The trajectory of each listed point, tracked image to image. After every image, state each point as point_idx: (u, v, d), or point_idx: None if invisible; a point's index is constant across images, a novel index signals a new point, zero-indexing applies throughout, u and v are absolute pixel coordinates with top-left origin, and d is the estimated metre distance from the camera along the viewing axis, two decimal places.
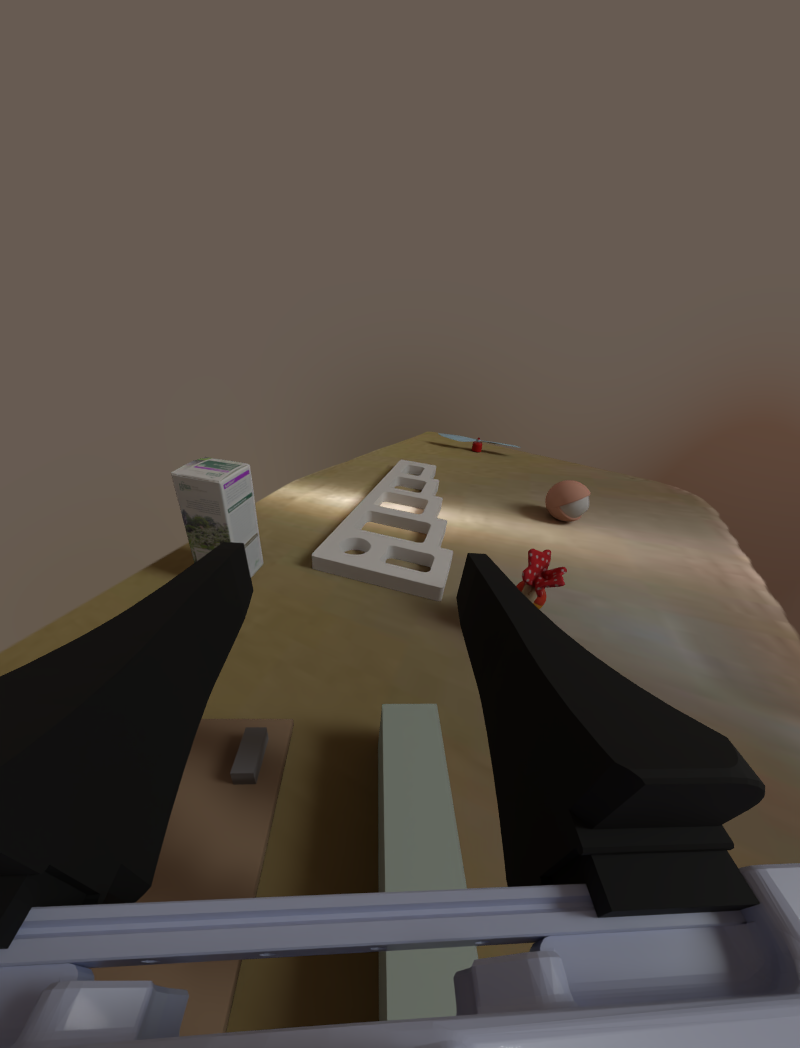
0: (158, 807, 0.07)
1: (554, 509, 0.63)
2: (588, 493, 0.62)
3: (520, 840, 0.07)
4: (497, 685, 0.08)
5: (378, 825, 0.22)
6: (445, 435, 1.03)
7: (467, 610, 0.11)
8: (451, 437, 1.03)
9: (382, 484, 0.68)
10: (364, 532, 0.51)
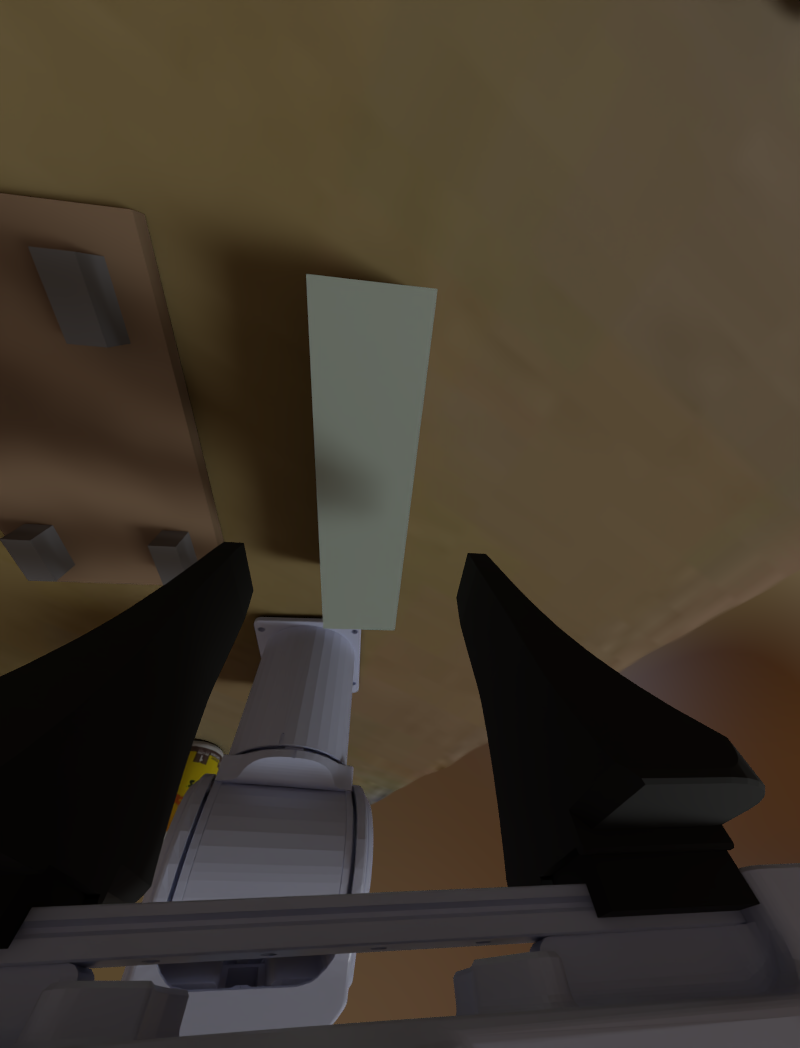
0: (158, 807, 0.07)
1: None
2: None
3: (520, 840, 0.07)
4: (497, 685, 0.08)
5: None
6: None
7: (467, 610, 0.11)
8: None
9: None
10: None
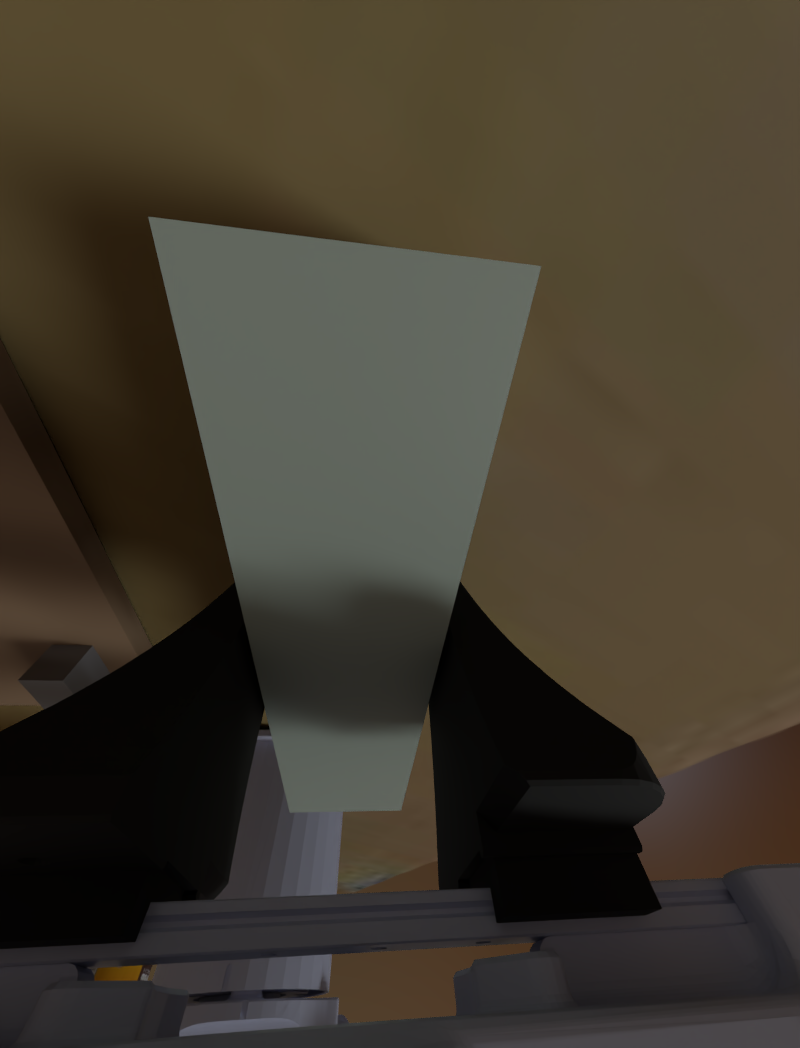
0: (234, 806, 0.07)
1: None
2: None
3: (447, 842, 0.07)
4: (438, 684, 0.08)
5: None
6: None
7: None
8: None
9: None
10: None
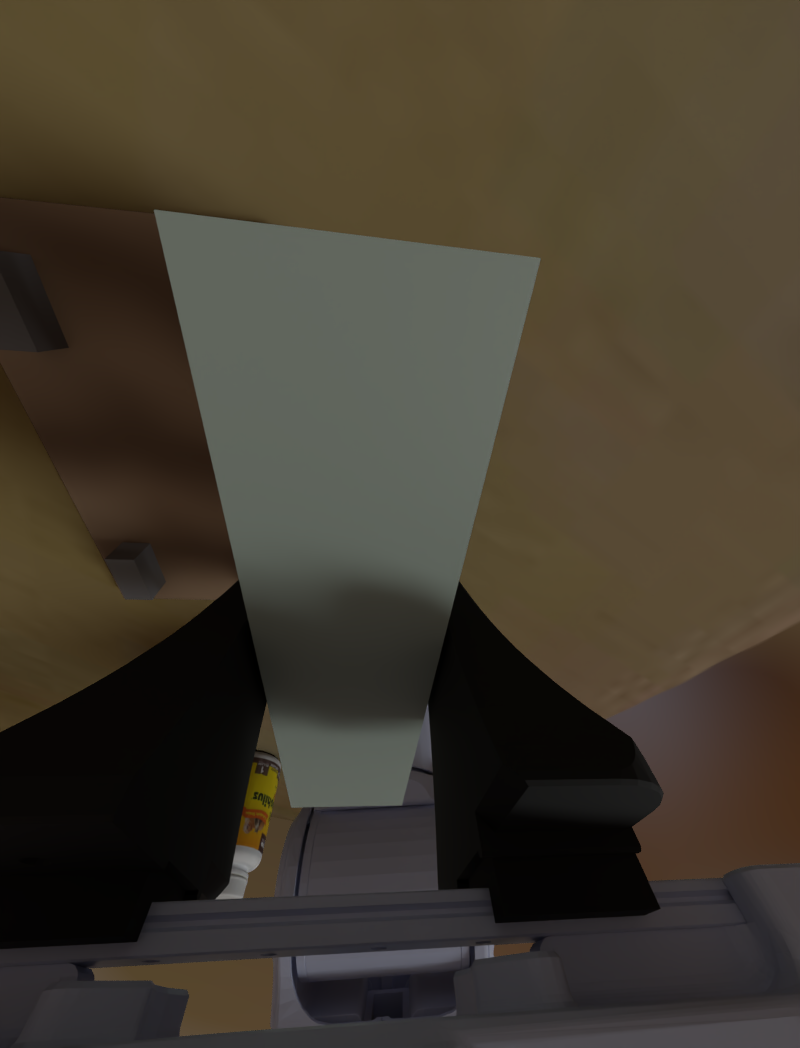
0: (235, 806, 0.07)
1: None
2: None
3: (446, 842, 0.07)
4: (437, 684, 0.08)
5: None
6: None
7: None
8: None
9: None
10: None
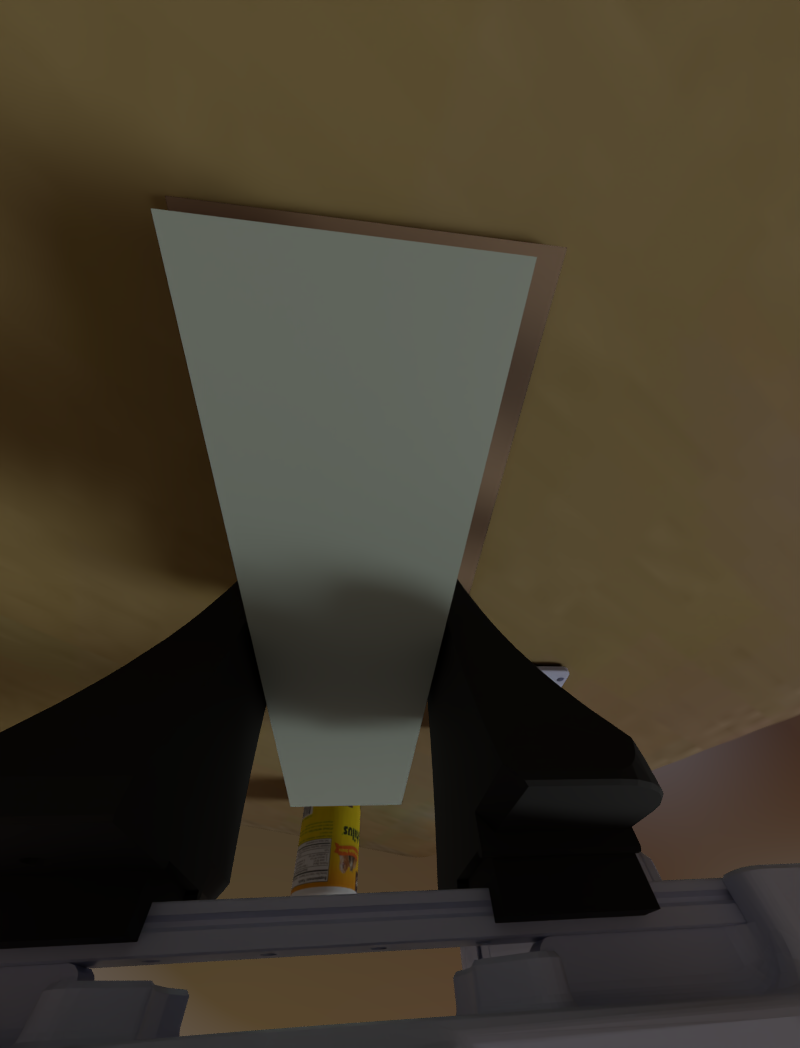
0: (235, 806, 0.07)
1: None
2: None
3: (446, 842, 0.07)
4: (437, 684, 0.08)
5: None
6: None
7: None
8: None
9: None
10: None
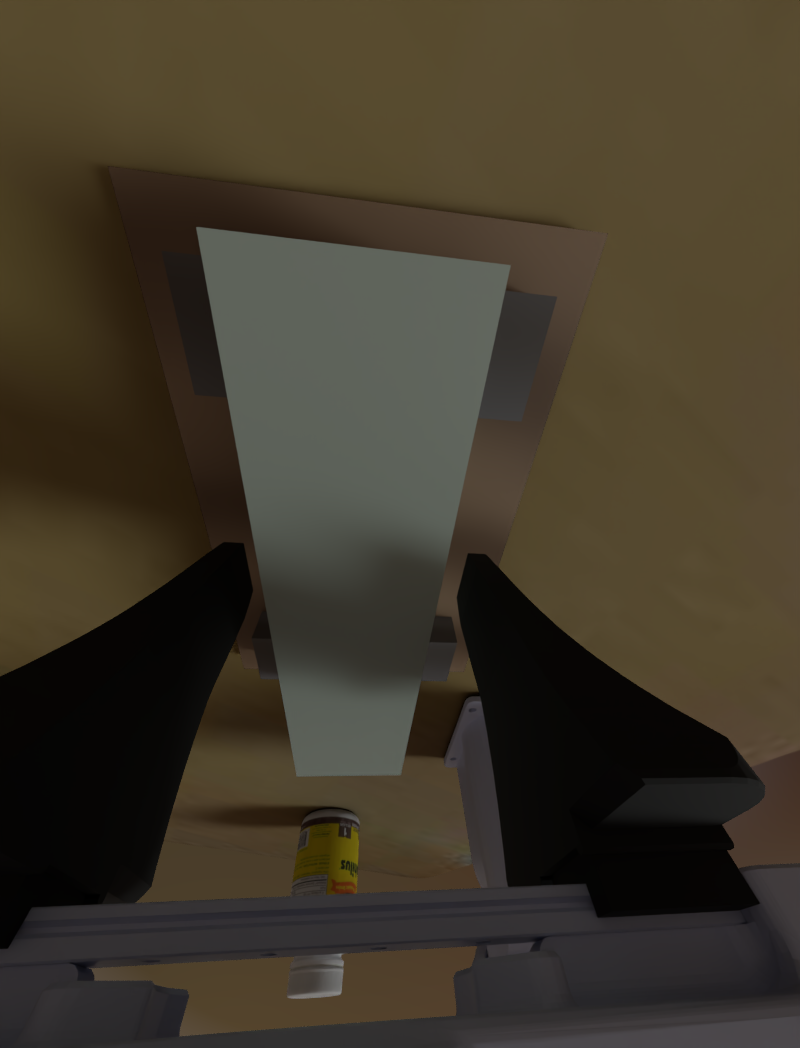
0: (158, 807, 0.07)
1: None
2: None
3: (520, 840, 0.07)
4: (497, 685, 0.08)
5: None
6: None
7: (467, 610, 0.11)
8: None
9: None
10: None
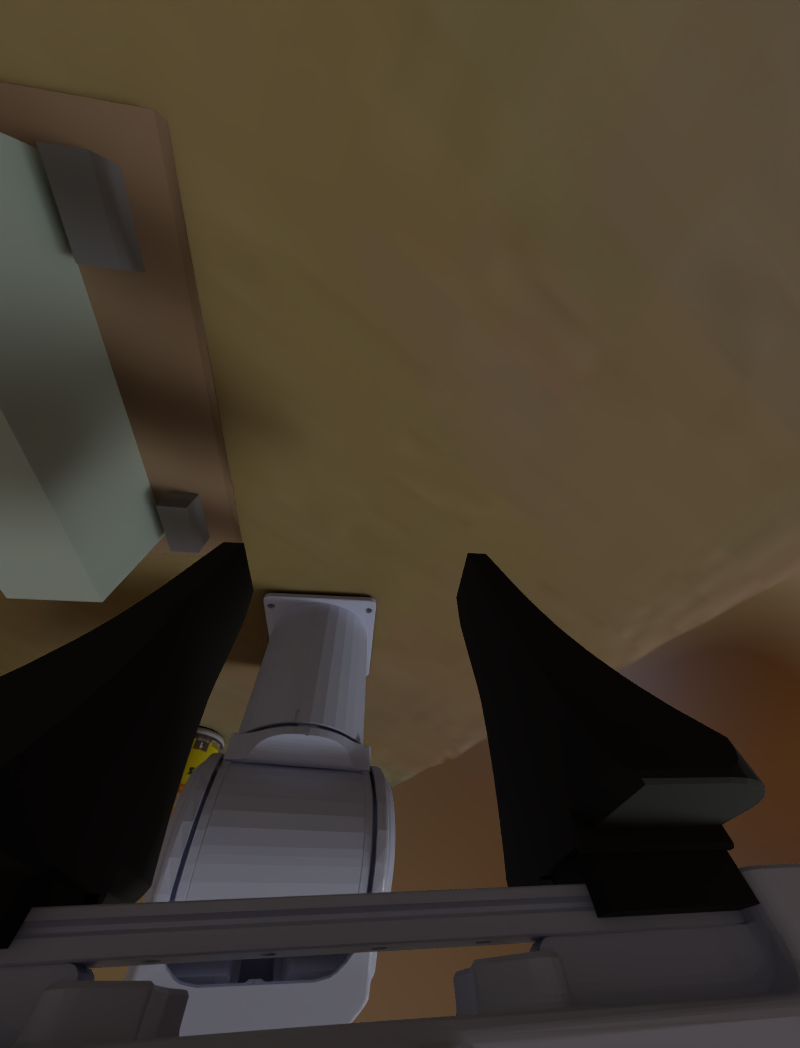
0: (158, 807, 0.07)
1: None
2: None
3: (520, 840, 0.07)
4: (497, 685, 0.08)
5: None
6: None
7: (467, 610, 0.11)
8: None
9: None
10: None
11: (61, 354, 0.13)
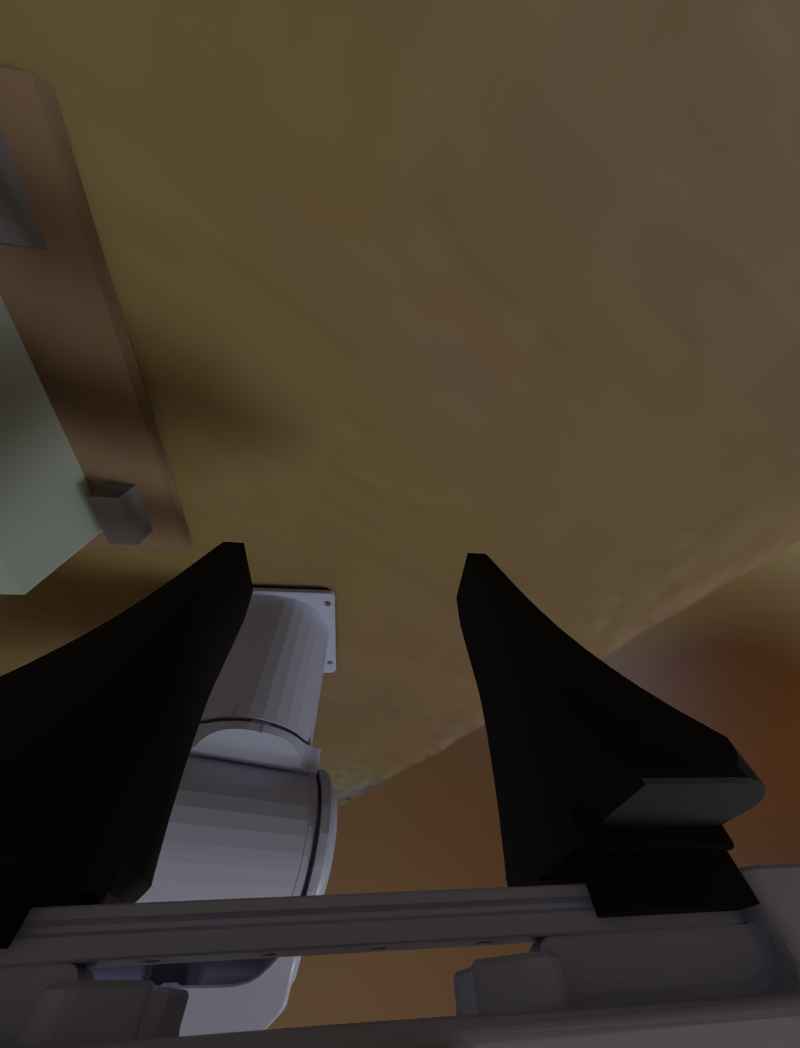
0: (158, 807, 0.07)
1: None
2: None
3: (520, 840, 0.07)
4: (497, 685, 0.08)
5: None
6: None
7: (467, 610, 0.11)
8: None
9: None
10: None
11: None
